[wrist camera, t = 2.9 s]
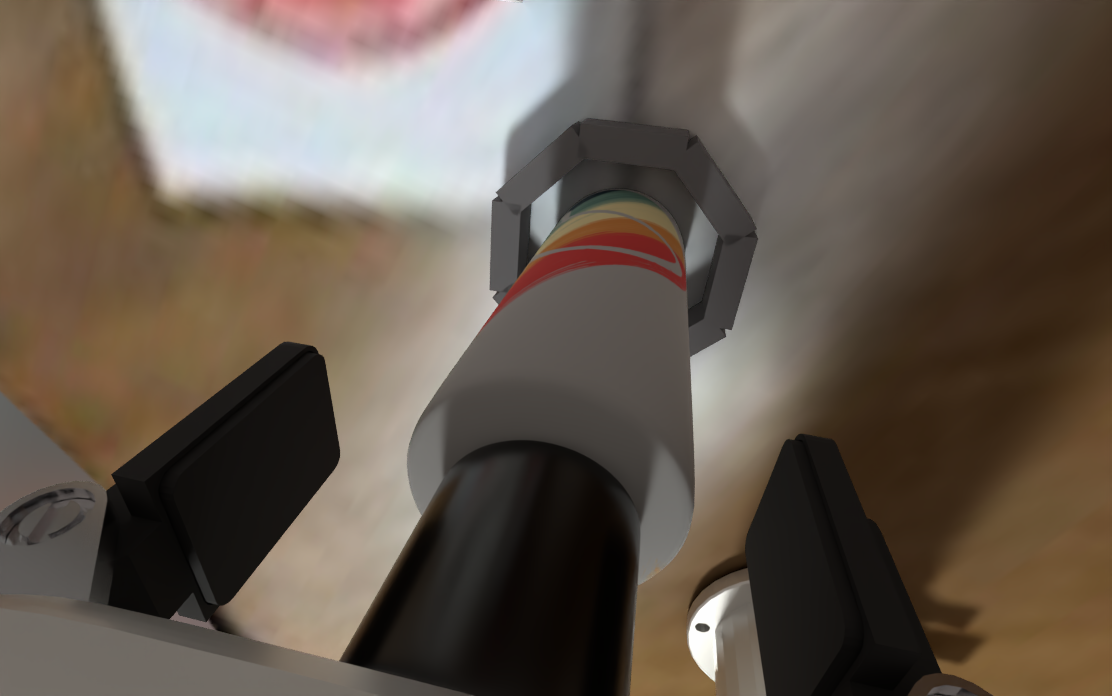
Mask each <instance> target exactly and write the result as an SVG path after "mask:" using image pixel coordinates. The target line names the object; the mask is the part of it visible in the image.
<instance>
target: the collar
mask: <svg viewBox="0 0 1112 696" xmlns="http://www.w3.org/2000/svg"><path fill="white" fill-rule="evenodd" d="M688 139H689V132H688V130H682V129H674V128H665V127H657V126H648V125H640V124H632V123H623V122H615V121H606V120H598V119H589V118H588V119H586V120H585V121H583V122H582V123H581V124H580V122H579V121H578V122H577V123H575V124H574V125H572V126H571V127H569V128H568V129H567V130H566V131H565V132H564V133H563V134H561V135H560V136H559V137H558V138H557V139H556V140H555V141H554V142H552V143H551V144H550V145H549V146H548V147H547V148H546V149H545V150H543V151H542V152H541V153H540V154H539V155H538V156H537V157H535V158H534V159H533V160H532V161H531V162H530V163H529V164H528V165H526V166H525V167H524V168H523V169H522V170H521V171H520V172H518V173H517V174H516V175H515V176H514V177H513V178H512V179H511V180H509V181H508V182H507V183H506V184H505V185H504V186H503V187H501V188H500V189H499V190H498V191H497V192H496V193H497V194H498V197H496V198H495V199H494V200H492V223H491V260H490V290H493V291H497V293H496V294H495V295H494V297H493V299H494V300H495V301H496V302H497V303H498V305H499V304H500V302H501V301H502V300H503V298H504V297H505V296H506V294H507V293H508V291H509V290H510V289H511V287H512V286H513V284H514V283H515V282H516V280H517V279H518V277H519V276H520V275H521V273H522V272H523V271H524V269H525V268H526V266H527V261H528V245H529V230H530V214H531V203H532V202H533V201H535V200H536V199H537V198H538V197H539V196H541V195H542V194H543V193H544V192H545V191H547V190H548V189H549V188H550V187H551V186H553V185H554V184H555V183H556V182H557V181H559V180H560V179H561V178H562V177H563V176H565V175H566V174H567V173H568V172H569V171H571V170H572V169H573V168H574V167H575V166H577V165H578V164H579V163H580V162H581V161H583V160H584V159H591V160H599V161H607V162H615V163H622V164H630V165H638V166H646V167H654V168H661V169H669V170H674V171H675V172H676V174H677V175H678V177H679V178H680V179H681V181H682V182H683V184H684V185H685V187H686V188H687V190H688V191H689V192H690V194H691V195H692V197H693V198H694V200H695V201H696V202H697V204H698V205H699V207H700V208H701V210H702V211H703V213H704V214H705V215H706V217H707V218H708V220H709V221H710V223H711V224H712V226H713V227H714V228H715V230H716V231H717V233H718V234H719V235H718V239H717V243H716V247H715V251H714V255H713V259H712V263H711V267H710V271H709V275H708V279H707V283H706V287H705V292H704V296H703V300H702V302H700V303H699V304H697V305H695V306H694V307H692V308H690V309H689V310H688V328H689V350H690V357H691V356H692V355H694V354H696V353H698V352H700V351H701V350H703V349H705V348H707V347H709V346H710V345H712V344H714V343H716V342H718V341H719V340H721V339H723V338H725V337H726V334H725V329H729V330H732V327H733V324H734V320H735V317H736V313H737V310H738V306H739V303H740V299H741V296H742V292H743V289H744V285H745V282H746V278H747V275H748V271H749V268H750V264H751V261H752V257H753V254H754V251H755V247H756V244H757V240H758V238H757V235H756V233H755V231H754V230H756V227H755V225H754V222H753V220H752V218H751V216H750V215H749V213H748V212H747V210H746V209H745V207H744V206H743V204H742V203H741V201H740V200H739V198H738V197H737V195H736V194H735V192H734V191H733V189H732V188H731V186H730V185H729V183H728V182H727V180H726V179H725V177H724V176H723V174H722V173H721V171H720V170H719V168H718V167H717V165H716V164H715V162H714V161H713V159H712V158H711V156H710V155H709V153H708V152H707V150H706V149H705V147H704V146H703V144H702V143H701V141H700V140H699V138H698V137H697V135H696V136H695V137H694V138H692V139H691V140H690V141H688Z"/></svg>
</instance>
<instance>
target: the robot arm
mask: <svg viewBox="0 0 1112 696" xmlns="http://www.w3.org/2000/svg"><path fill="white" fill-rule="evenodd" d="M339 458H340V447H339V441H338V435H337V429H336V424H335V418H334V412H333V406H332V400H331V394H330V388H329V382H328V376H327V370H326V364H325V360H324V357H323V356H322V355H320V354H318V351H317V349H316V348H315V347H313V346H310V345H304V344H299V343H293V342H283V343H281V344H280V345H278V346H277V347H276V348H275V349H273V350H272V351H271V352H269V353H268V354H267V355H266V356H264V357H263V358H262V359H260V360H259V361H258V362H256V363H255V364H254V365H253V366H251V367H250V368H249V369H247V370H246V371H245V372H243V373H242V374H241V375H240V376H238V377H237V378H236V379H234V380H233V381H232V382H231V383H229V384H228V385H227V386H225V387H224V388H223V389H221V390H220V391H219V392H218V393H216V394H215V395H214V396H212V397H211V398H210V399H208V400H207V401H206V402H205V403H203V404H202V405H201V406H199V407H198V408H197V409H196V410H194V411H193V412H192V413H190V414H189V415H188V416H186V417H185V418H184V419H183V420H181V421H180V422H179V423H177V424H176V425H175V426H173V427H172V428H171V429H170V430H168V431H167V432H166V433H164V434H163V435H162V436H161V437H159V438H158V439H157V440H155V441H154V442H153V443H151V444H150V445H149V446H148V447H146V448H145V449H144V450H142V451H141V452H140V453H138V454H137V455H136V456H135V457H133V458H132V459H131V460H129V461H128V462H127V463H126V464H124V465H123V466H122V467H120V468H119V469H118V470H116V471H115V472H114V473H113V474H111V475H112V477H113V479H114V481H115V483H116V484H115V485H113V486H112V487H111V488H110V489H108V490H107V491H106V490H105V489H104V488H103V487H102V486H101V485H99V484H96V483H92V482H88V481H72V482H66V483H60V484H56V485H53V486H49V487H46V488H43V489H40V490H37V491H35V492H33V493H31V494H29V495H26V496H25V497H22V498H20V499H19V500H17V501H16V502H14V503H12V504H11V505H9V506H8V507H6V508H5V509H4V510H3V511H2V512H0V696H474V695H470V694H466V693H462V692H458V691H454V690H450V689H446V688H442V687H438V686H434V685H430V684H427V683H423V682H419V681H415V680H411V679H407V678H403V677H399V676H395V675H391V674H387V673H383V672H379V671H375V670H371V669H367V668H363V667H359V666H356V665H352V664H348V663H344V662H340V661H336V660H332V659H328V658H324V657H320V656H316V655H312V654H308V653H304V652H300V651H296V650H292V649H288V648H284V647H280V646H275V645H271V644H267V643H263V642H259V641H255V640H251V639H247V638H243V637H239V636H235V635H231V634H227V633H223V632H219V631H215V630H211V629H207V628H203V627H199V626H195V625H190V624H187V623H182V622H178V621H174V620H169V619H170V618H171V617H172V616H173V615H174V614H175V612H176V611H177V612H178V614H179V615H180V616H184V617H188V618H192V619H196V620H200V621H204V622H207V621H208V619H209V618H210V617H211V616H212V614H213V613H214V612H215V611H216V609H217V608H218V607H219V606H220V605H221V606H222V605H225V604H227V603H228V602H230V601H231V599H232V598H233V597H234V596H235V595H236V594H237V592H238V591H239V590H240V589H241V587H242V586H243V585H244V583H245V582H246V581H247V580H248V578H249V577H250V576H251V575H252V573H253V572H254V571H255V569H256V568H257V567H258V566H259V564H260V563H261V562H262V561H263V559H264V558H265V557H266V556H267V554H268V553H269V552H270V550H271V549H272V548H273V547H274V545H275V544H276V543H277V542H278V540H279V539H280V538H281V537H282V535H283V534H284V533H285V531H286V530H287V529H288V528H289V526H290V525H291V524H292V523H293V521H294V520H295V519H296V517H297V516H298V515H299V514H300V512H301V511H302V510H303V509H304V507H305V506H306V505H307V504H308V502H309V501H310V500H311V498H312V497H313V496H314V495H315V493H316V492H317V491H318V490H319V488H320V487H321V486H322V485H323V483H324V482H325V481H326V479H327V478H328V477H329V476H330V474H331V473H332V472H333V471H334V469H335V468H336V466H337V464H338V462H339ZM745 553H746V561H747V568H746V569H742V570H739V571H736V572H733V573H730V574H728V575H726V576H724V577H722V578H720V579H718V580H716V581H714V582H713V583H712V584H711V585H709V586H708V587H707V588H705V589H704V590H703V591H702V592H701V593H700V594H699V595H698V597H697V598H696V599H695V600H694V601H693V603H692V605H691V608H690V610H689V612H688V617H687V643H688V647H689V650H690V652H691V655H692V657H693V659H694V660H695V662H696V663H697V665H698V666H699V668H700V669H701V670H703V671H704V672H705V673H706V674H707V675H708V676H709V677H710V678H711V679H712V680H713V681H715V684H716V696H993V695H991V694H990V693H988V692H987V691H985V690H983V689H982V688H980V687H979V686H977V685H976V684H974V683H972V682H969V681H967V680H964V679H962V678H960V677H957V676H955V675H948V674H942V673H941V671H940V668H939V666H938V664H937V661H936V659H935V657H934V654H933V652H932V650H931V647H930V645H929V643H928V640H927V638H926V636H925V633H924V631H923V629H922V626H921V624H920V622H919V619H918V617H917V615H916V612H915V610H914V608H913V605H912V603H911V601H910V598H909V596H908V594H907V591H906V589H905V587H904V584H903V582H902V580H901V577H900V575H899V573H898V570H897V568H896V566H895V563H894V561H893V559H892V556H891V554H890V552H889V549H888V547H887V545H886V542H885V540H884V538H883V536H882V533H881V531H880V529H879V528H878V526H877V524H876V523H875V522H874V521H872V520H871V519H867V518H866V515H865V513H864V511H863V508H862V506H861V503H860V501H859V498H858V496H857V494H856V491H855V489H854V486H853V484H852V481H851V479H850V477H849V474H848V472H847V469H846V467H845V464H844V462H843V460H842V457H841V455H840V452H839V450H838V447H837V445H836V443H835V442H834V440H832V439H828V438H823V437H817V436H811V435H806V434H799V435H798V436H797V437H796V438H795V440H790V439H788V440H786V441H785V443H784V445H783V447H782V449H781V452H780V454H779V457H778V459H777V462H776V464H775V467H774V469H773V472H772V474H771V477H770V479H769V482H768V484H767V487H766V489H765V492H764V494H763V497H762V499H761V502H760V504H759V507H758V509H757V512H756V514H755V516H754V519H753V521H752V524H751V526H750V529H749V531H748V534H747V538H746V544H745Z"/></svg>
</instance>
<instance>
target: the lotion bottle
mask: <svg viewBox="0 0 1112 696" xmlns="http://www.w3.org/2000/svg"><path fill="white" fill-rule="evenodd" d="M407 472H408V479H409V484H410V488H411V491H412V495H413V498H414V500H415V503H416V505H417V508H418V510H419V511H420V513H421V515H422V516H421V518H420V520H419V522H418V523H417V525H416V527H415V529H414V530H413V532H412V534H411V536H410V537H409V539H408V541H407V543H406V544H405V546H404V548H403V550H402V552H401V553H400V555H399V557H398V559H397V560H396V562H395V564H394V566H393V567H392V569H391V571H390V573H389V574H388V576H387V578H386V580H385V581H384V583H383V585H382V587H381V588H380V590H379V592H378V594H377V595H376V597H375V599H374V601H373V602H372V604H371V606H370V608H369V609H368V611H367V613H366V615H365V616H364V618H363V620H362V622H361V623H360V625H359V627H358V629H357V630H356V632H355V634H354V636H353V638H352V639H351V641H350V643H349V645H348V646H347V648H346V650H345V652H344V653H343V655H342V657H341V659H340V660H339V661H340V662H344V663H348V664H352V665H356V666H359V667H363V668H367V669H371V670H375V671H379V672H383V673H387V674H391V675H395V676H399V677H403V678H407V679H411V680H415V681H419V682H423V683H427V684H430V685H434V686H438V687H442V688H446V689H450V690H454V691H458V692H462V693H466V694H470V695H474V696H630V683H631V669H632V655H633V641H634V627H635V613H636V599H637V586H638V585H639V584H641V583H643V582H645V581H647V580H648V579H650V578H651V577H653V576H654V575H656V574H657V573H658V572H660V571H661V570H662V569H663V568H664V567H665V566H666V565H668V564H669V563H670V562H671V561H672V559H673V558H674V557H675V556H676V555H677V553H678V552H679V550H680V549H681V547H682V546H683V544H684V542H685V539H686V537H687V535H688V532H689V529H690V525H691V521H692V516H693V510H694V488H695V476H694V441H693V417H692V394H691V372H690V350H689V328H688V305H687V283H686V262H685V251H684V244H683V239H682V236H681V233H680V230H679V228H678V225H677V223H676V222H675V220H674V218H673V217H672V215H671V214H670V213H669V212H668V211H667V209H666V208H665V207H663V206H662V205H661V204H660V203H659V202H657V201H656V200H655V199H653V198H651V197H650V196H647V195H645V194H643V193H640V192H637V191H633V190H628V189H608V190H603V191H599V192H596V193H593V194H591V195H589V196H587V197H585V198H583V199H582V200H580V201H579V202H577V203H576V204H575V205H574V206H573V207H571V208H570V209H569V210H568V211H567V213H566V214H565V215H564V216H563V217H562V218H561V220H560V221H559V222H558V224H557V225H556V226H555V228H554V229H553V230H552V232H551V233H550V235H549V236H548V237H547V239H546V240H545V241H544V243H543V244H542V246H541V247H540V248H539V250H538V251H537V253H536V254H535V255H534V257H533V258H532V259H531V261H530V262H529V264H528V265H527V266H526V268H525V269H524V271H523V272H522V273H521V275H520V276H519V277H518V279H517V280H516V282H515V283H514V284H513V286H512V287H511V289H510V290H509V291H508V293H507V294H506V296H505V297H504V298H503V300H502V301H501V302H500V304H499V305H498V307H497V308H496V309H495V311H494V312H493V314H492V315H491V316H490V318H489V319H488V320H487V322H486V323H485V325H484V326H483V327H482V329H481V330H480V332H479V333H478V334H477V336H476V337H475V338H474V340H473V341H472V343H471V344H470V345H469V347H468V348H467V350H466V351H465V352H464V354H463V355H462V357H461V358H460V359H459V361H458V362H457V364H456V365H455V366H454V368H453V369H452V371H451V372H450V373H449V375H448V376H447V378H446V379H445V381H444V382H443V383H442V385H441V386H440V388H439V389H438V391H437V392H436V394H435V395H434V397H433V398H432V400H431V401H430V403H429V404H428V406H427V407H426V409H425V410H424V412H423V413H422V415H421V417H420V419H419V421H418V423H417V425H416V427H415V429H414V432H413V435H412V438H411V441H410V444H409V449H408V454H407Z"/></svg>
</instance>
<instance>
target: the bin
mask: <svg viewBox="0 0 1112 696" xmlns="http://www.w3.org/2000/svg"><path fill="white" fill-rule="evenodd" d="M498 1H509V2H520V3H523V0H498Z"/></svg>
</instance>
